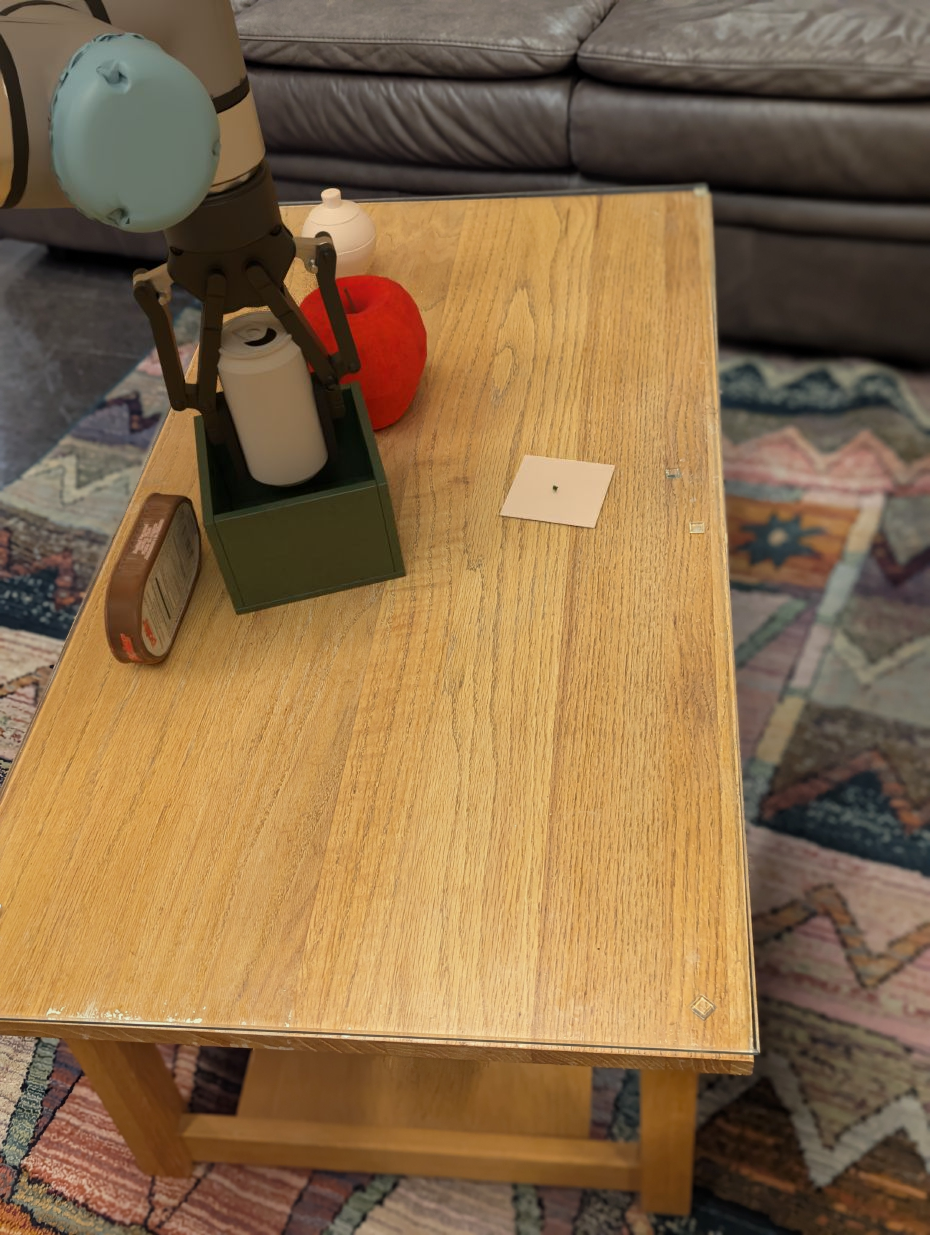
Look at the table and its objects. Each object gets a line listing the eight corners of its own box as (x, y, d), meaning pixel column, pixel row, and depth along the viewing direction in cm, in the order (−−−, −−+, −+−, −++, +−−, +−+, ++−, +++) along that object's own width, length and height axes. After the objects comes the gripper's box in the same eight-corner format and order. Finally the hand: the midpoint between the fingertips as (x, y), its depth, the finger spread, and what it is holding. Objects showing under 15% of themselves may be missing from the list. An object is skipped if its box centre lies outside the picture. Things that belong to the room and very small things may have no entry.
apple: (393, 363, 106) (370, 236, 96) (463, 416, 99) (447, 284, 89) (289, 414, 102) (255, 287, 92) (355, 473, 95) (326, 342, 85)
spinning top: (397, 306, 113) (379, 196, 104) (328, 328, 111) (304, 218, 103) (373, 274, 118) (354, 166, 109) (307, 294, 116) (282, 186, 108)
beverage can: (285, 504, 81) (246, 367, 72) (232, 471, 84) (188, 337, 75) (347, 460, 83) (317, 324, 75) (293, 430, 87) (258, 296, 78)
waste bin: (236, 615, 84) (202, 524, 77) (224, 506, 94) (193, 416, 87) (406, 576, 85) (387, 482, 78) (377, 471, 95) (358, 380, 88)
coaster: (615, 465, 92) (615, 458, 91) (594, 528, 87) (594, 520, 86) (524, 454, 94) (524, 447, 93) (499, 515, 89) (498, 507, 88)
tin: (180, 547, 90) (149, 469, 84) (216, 547, 90) (188, 469, 84) (125, 687, 80) (84, 610, 74) (165, 688, 80) (128, 610, 74)
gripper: (352, 115, 70) (402, 407, 87) (52, 174, 68) (162, 459, 85) (371, 163, 65) (420, 463, 82) (47, 227, 63) (165, 520, 80)
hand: (288, 461), depth 83 cm, fingers closed on beverage can, 6 cm apart
